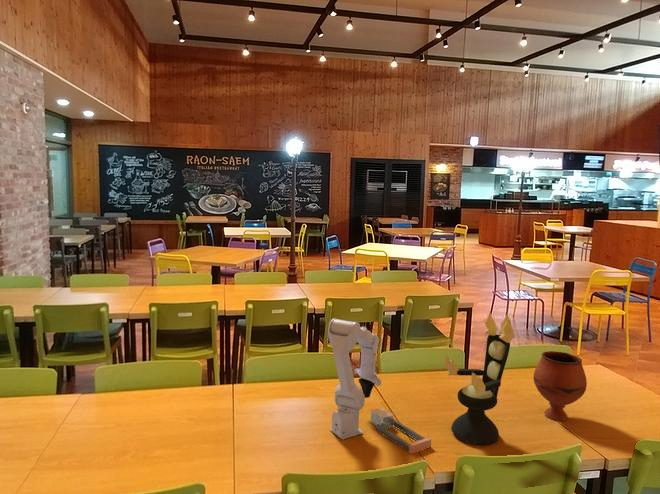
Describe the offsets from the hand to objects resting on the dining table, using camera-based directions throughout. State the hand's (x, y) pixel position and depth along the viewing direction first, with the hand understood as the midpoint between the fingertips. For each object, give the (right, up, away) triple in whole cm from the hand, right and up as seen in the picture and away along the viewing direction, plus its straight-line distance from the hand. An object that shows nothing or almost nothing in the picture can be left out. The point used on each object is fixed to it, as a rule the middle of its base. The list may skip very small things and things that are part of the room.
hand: (366, 396), depth 200 cm
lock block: (+5, -9, -7) cm, 12 cm away
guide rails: (+11, -10, -17) cm, 22 cm away
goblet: (+76, -9, +5) cm, 77 cm away
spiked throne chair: (+40, -10, -12) cm, 43 cm away
